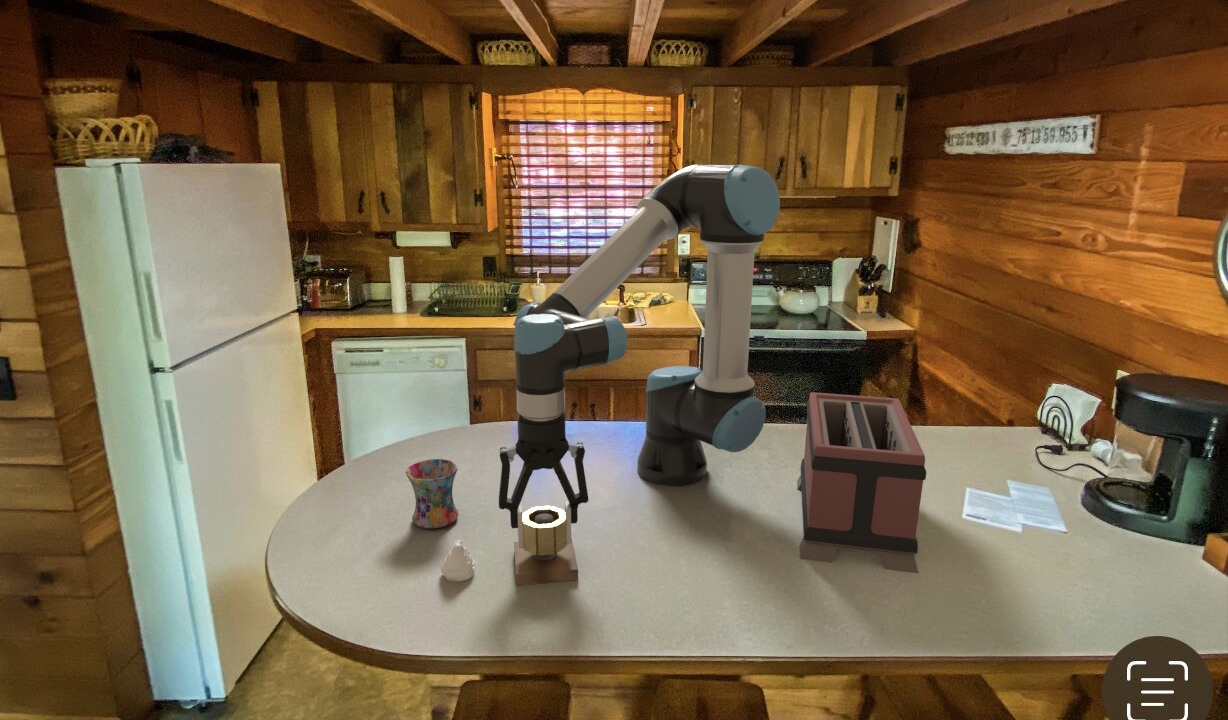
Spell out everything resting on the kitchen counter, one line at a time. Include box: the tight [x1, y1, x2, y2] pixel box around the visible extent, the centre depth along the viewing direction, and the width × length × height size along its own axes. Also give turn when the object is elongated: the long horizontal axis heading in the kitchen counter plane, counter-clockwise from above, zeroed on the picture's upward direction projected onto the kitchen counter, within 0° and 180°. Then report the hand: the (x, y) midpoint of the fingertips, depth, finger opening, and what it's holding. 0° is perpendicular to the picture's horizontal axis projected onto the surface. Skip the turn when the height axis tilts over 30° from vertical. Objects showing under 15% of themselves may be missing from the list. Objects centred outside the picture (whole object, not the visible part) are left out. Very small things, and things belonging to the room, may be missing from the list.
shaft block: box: [513, 514, 579, 586], centre depth 120 cm, size 10×10×9 cm
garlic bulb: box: [440, 539, 476, 583], centre depth 118 cm, size 6×6×5 cm
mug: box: [405, 458, 459, 529], centre depth 136 cm, size 12×9×11 cm
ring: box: [522, 505, 567, 556], centre depth 119 cm, size 7×7×5 cm
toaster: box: [796, 392, 927, 574], centre depth 135 cm, size 19×34×21 cm, turn 167°
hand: (544, 541), depth 120 cm, fingers closed on ring, 7 cm apart
